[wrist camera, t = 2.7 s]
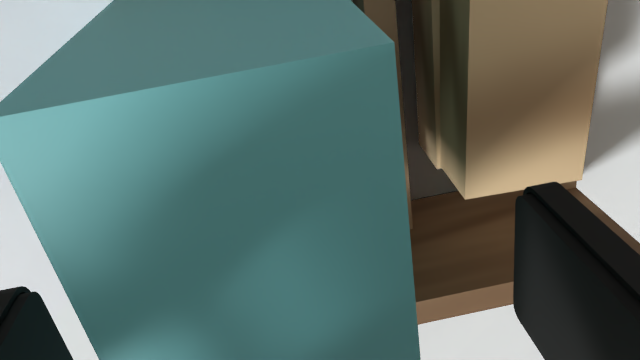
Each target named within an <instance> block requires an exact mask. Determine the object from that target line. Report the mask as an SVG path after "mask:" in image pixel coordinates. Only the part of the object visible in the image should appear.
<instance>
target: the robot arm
mask: <svg viewBox="0 0 640 360" xmlns="http://www.w3.org/2000/svg"><path fill="white" fill-rule="evenodd" d="M513 304H514V309H515V313H516V315H517V317H518V319H519V321H520V322H521V324H522V325H523V327H524V329H525V330H526V332H527V333H528V335H529V336H530V338H531V339H532V341H533V342H534V344H535V345H536V347H537V348H538V350H539V351H540V353H541V354H542V356H543V358H544V359H545V360H640V255H639V254H638V253H637V252H636V251H635V250H634V249H632V248H631V247H630V246H629V245H628V244H627V243H626V242H625V241H623V240H622V239H621V238H620V237H619V236H618V235H617V234H616V233H614V232H613V231H612V230H611V229H610V228H609V227H608V226H607V225H606V224H604V223H603V222H602V221H601V220H600V219H599V218H598V217H597V216H595V215H594V214H593V213H592V212H591V211H590V210H589V209H588V208H587V207H585V206H584V205H583V204H582V203H581V202H580V201H579V200H578V199H576V198H575V197H574V196H573V195H572V194H571V193H570V192H569V191H568V190H566V189H565V188H564V187H563V186H562V185H561V184H559V183H558V182H549V183H544V184H539V185H534V186H529V187H526V188H525V190H524V192H523V195H521V196H518V197H517V198H516V202H515V240H514V284H513ZM0 360H73V358H72V356H71V354H70V352H69V350H68V349H67V347H66V345H65V343H64V341H63V339H62V337H61V335H60V333H59V331H58V329H57V327H56V325H55V323H54V321H53V319H52V317H51V315H50V313H49V311H48V310H47V308H46V306H45V304H44V302H43V300H42V298H41V296H40V295H39V294H38V293H37V292H30V290H29V289H27V288H26V287H23V286H21V287H16V288H11V289H6V290H0Z"/></svg>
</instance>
